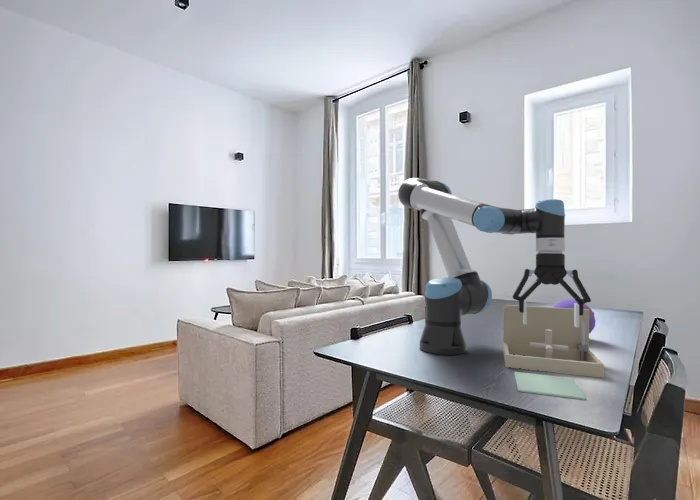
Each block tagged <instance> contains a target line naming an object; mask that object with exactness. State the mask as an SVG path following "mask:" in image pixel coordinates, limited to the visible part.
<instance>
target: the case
mask: <svg viewBox="0 0 700 500" xmlns="http://www.w3.org/2000/svg"><path fill="white" fill-rule="evenodd" d="M552 307H553V306H552ZM552 307H550V306H548V307H547V306H533V305H532V306H531V305H530V306H529V305H527V324H523V312H520V311H519V305H514V304H513V305H512V304H504V305H503V341H502V342H503V346H502V347H503V351H502V352H503V353H502V354H503V359H504V365H505V366H504V367H505V368H509V367H511V369H519V368H521V369H520V370H528V369H529V370H530V371H537V370H539V372H546V371H547V373H548V372H549V373H556V374H557V373H558V374H567V375H574V376H586V377H594V378H602V379H603V378H604V375H605V373H604V368H605V367H604V366H605V364H604V363H603V362H602V361H601V360H600V359H599V358H598V357H597V356H596V355H595V354H594V353H593V352H592V351H591V350H590V349H589V347H590V345H589V344H590V334H589V310H587V309H583V315H579V328H578V327H575V326H574V309H570V308H552ZM546 329H549V330H552V344H553V345H563V346H568V352H561V351H553V353H552V358H545V350H543V349H533V348H530V342H534V343H544V344H545V330H546ZM513 354H515V355H513ZM523 355H525V356H523Z"/></svg>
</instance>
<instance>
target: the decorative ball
mask: <svg viewBox="0 0 700 500" xmlns="http://www.w3.org/2000/svg"><path fill="white" fill-rule="evenodd" d="M574 303H577V301H576V300H575V299H574V298H567V299H562V300H559V301H558V302H556V303H555V304H554V305H553V306H552V308H570V309H574ZM583 309H587V310H589V335H590V334H591V333H592V331H593V330H594V329H595V327H596V317H595V312H594V311H593V310H592V308H591V307H590V306H589V305H587V303H584V305H583Z"/></svg>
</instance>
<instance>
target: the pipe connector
mask: <svg viewBox="0 0 700 500" xmlns="http://www.w3.org/2000/svg"><path fill="white" fill-rule="evenodd" d="M530 348H533V349H543V350H545V358H552V353H553V351H561V352H568V346H563V345H553V344H552V330H549V329H546V330H545V344H544V343H534V342H530ZM552 359H553V358H552Z"/></svg>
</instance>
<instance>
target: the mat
mask: <svg viewBox="0 0 700 500" xmlns="http://www.w3.org/2000/svg"><path fill="white" fill-rule="evenodd" d="M513 373H514V378H515V383H516V387H517V388H516V389H517V392H519V393H520V392H521V393H527V394H536V395H544V396H552V397H561V398H569V399H576V400H582V401H586V400H587V398H586V396H585V394H584V393H583V391H582V390H581V389H580V386H579V385H578V384H577V381H575V379H574V378H571V377H565V376H564V377H563V376H554V375H544V374H539V373H538V374H537V373H530V372H529V373H528V372H519V371H518V372H517V371H514V372H513Z"/></svg>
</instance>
